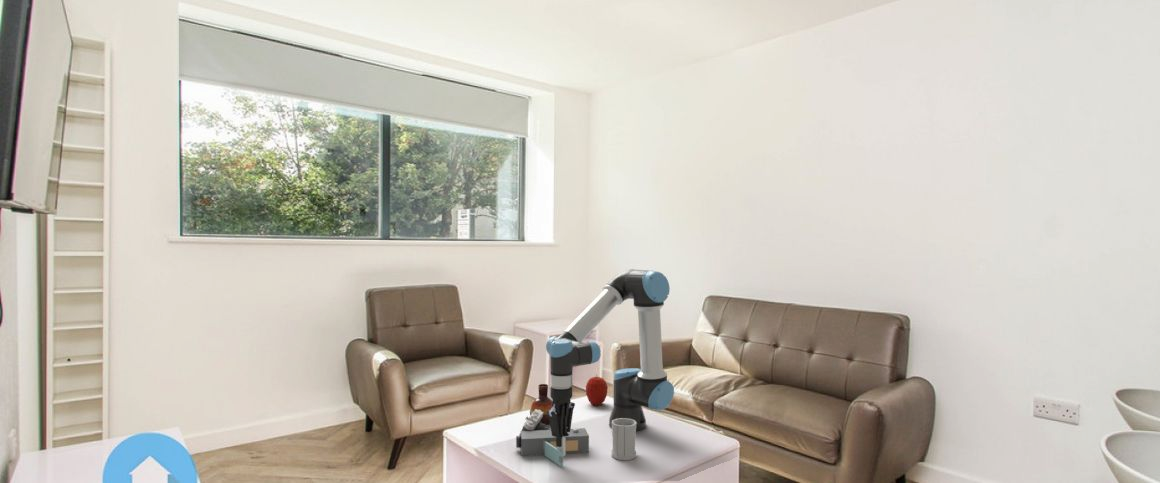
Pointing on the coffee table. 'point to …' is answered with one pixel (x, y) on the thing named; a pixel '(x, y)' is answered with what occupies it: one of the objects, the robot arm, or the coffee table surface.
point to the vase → (542, 403)
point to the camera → (534, 422)
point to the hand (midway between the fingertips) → (561, 455)
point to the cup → (623, 438)
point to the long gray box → (552, 441)
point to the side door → (553, 453)
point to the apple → (596, 390)
